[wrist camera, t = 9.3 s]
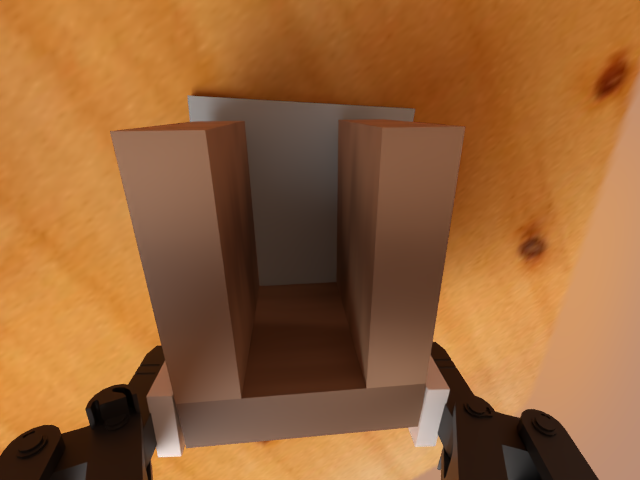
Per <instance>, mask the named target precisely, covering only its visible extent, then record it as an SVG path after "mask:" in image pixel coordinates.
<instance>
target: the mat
mask: <svg viewBox="0 0 640 480" xmlns="http://www.w3.org/2000/svg"><path fill="white" fill-rule="evenodd" d="M188 105H189V116H190V122H195V121H245V130H246V141H247V152H248V164H249V175H250V186H251V197H252V208H253V219H254V230H255V241H256V252H257V263H258V274H259V285H260V286H270V285H289V284H308V283H327V282H336V273H337V194H338V120H360V119H387V120H398V121H409V122H413V120H414V113H415V109H411V108H393V107H376V106H359V105H342V104H324V103H307V102H290V101H273V100H255V99H238V98H221V97H204V96H188Z"/></svg>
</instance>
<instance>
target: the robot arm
mask: <svg viewBox="0 0 640 480" xmlns="http://www.w3.org/2000/svg"><path fill="white" fill-rule="evenodd" d="M86 413H87V416H88V420H89V423H90V425H89V426H87V427H84V428H81V429H77V430H74V431H70V432H67V433H63V434H61V432H60V430H59V428H58V427H56V426H54V425H43V426H39V427H36V428H33V429H31V430H29V431H27V432H25V433H23V434H21V435H20V436H19V437H17V438H16V439H15V440H13V441H12V442H11V443H10V444H9V445H8V446H7V448H6V449H5V450H4V451H3V453H2V454H1V456H0V480H153V475H152V465H151V457H152V455H153V453H154V450H155V448H156V449H157V454H158V457H176V456H182V453H183V450H184V447H185V441H184V436H183V432H182V428H181V424H180V420H179V416H178V411H177V407H176V403H175V399H174V395H173V391H172V387H171V382H170V378H169V374H168V370H167V366H166V362H165V357H164V353H163V349H162V346H156V347H155V348H154V349H152V350H151V351H150V352H149V353H148V354H146V356H145V358H144V359H143V361H142V363H141V364H140V367H139V368H138V369H137V371H136V373H135V375H134V376H133V377H132V379H131V381H130V382H129V384H128V385H126V384H119V385H114V386H111V387H108V388H106V389H103V390H102V391H100V392H99V393H97V394H96V395H95V396H94V397H93V398H92V399H91V400H90V401H89V402H88V404H87V407H86ZM408 429H409V431H410V434H411V437H412V440H413V442H414V445H415V447H423V446H435V445H436V441H437V437H438V435H439V437H440V440H441V442H442V444H443V450H442V453H441V457H440V460H439V464H438V468H437V469H438V470H441V480H599V479H598V478H597V476H596V475H595V473H594V472H593V470H592V469H591V467H590V466H589V464H588V463H587V461H586V460H585V458H584V457H583V455H582V454H581V452H580V451H579V449H578V448H577V446H576V445H575V443H574V442H573V440H572V439H571V437H570V436H569V434H568V433H567V431H566V430H565V428H564V427H563V426H562V425H561V424H560V423H559V422H558V421H557V420H556V419H554V418H553V417H552V416H550V415H548V414H546V413H544V412H542V411H539V410H535V409H528V410H525V411H523V412H522V414H521V417H520V418H517V417H513V416H509V415H505V414H501V413H498V412H495V411H494V409H493V408H492V407H491V406H490V404H489V403H487V402H486V401H485V400H483V399H482V398H479V397H477V396H475V395H474V394H473V393H472V391H471V390H470V388H469V386H468V385H467V383H466V382H465V380H464V379H463V377H462V376H461V374H460V372H459V371H458V369H457V368H456V366H455V365H454V363H453V361H451V358H450V357H449V355H448V354H447V352H446V351H445V349H443V348H442V347H441V346H440V345H439V344H437V343H436V342H432V348H431V355H430V361H429V368H428V374H427V381H426V387H425V394H424V401H423V407H422V412H421V416H420V420H419V425H418V427H408Z"/></svg>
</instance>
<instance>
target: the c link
mask: <svg viewBox="0 0 640 480" xmlns="http://www.w3.org/2000/svg"><path fill="white" fill-rule="evenodd" d="M464 132H465V126H454V125H442V124H431V123H420V122H409V121H398V120H387V119H360V120H338V194H337V273H336V282H327V283H308V284H289V285H270V286H260V285H259V274H258V263H257V252H256V241H255V230H254V219H253V208H252V197H251V186H250V175H249V164H248V152H247V141H246V130H245V121H195V122H186V123H177V124H169V125H160V126H152V127H143V128H134V129H126V130H117V131H110V133H111V137H112V141H113V146H114V150H115V154H116V158H117V162H118V166H119V170H120V175H121V179H122V183H123V187H124V191H125V195H126V200H127V204H128V208H129V212H130V216H131V220H132V224H133V229H134V233H135V237H136V241H137V245H138V249H139V254H140V258H141V262H142V266H143V270H144V274H145V278H146V283H147V287H148V291H149V295H150V299H151V303H152V308H153V312H154V316H155V320H156V324H157V328H158V333H159V337H160V341H161V345H162V349H163V353H164V357H165V362H166V366H167V370H168V374H169V378H170V382H171V387H172V391H173V395H174V399H175V403H176V407H177V411H178V416H179V420H180V424H181V428H182V432H183V436H184V441H185V445H186V448H193V447H204V446H215V445H225V444H236V443H247V442H258V441H268V440H279V439H290V438H301V437H311V436H322V435H333V434H344V433H354V432H365V431H376V430H387V429H397V428H408V427H418V425H419V420H420V416H421V412H422V407H423V401H424V394H425V387H426V381H427V374H428V368H429V361H430V355H431V348H432V342H433V335H434V329H435V322H436V316H437V309H438V302H439V296H440V289H441V283H442V276H443V270H444V263H445V257H446V250H447V244H448V237H449V231H450V224H451V217H452V211H453V204H454V198H455V191H456V185H457V178H458V172H459V165H460V159H461V152H462V145H463V139H464Z"/></svg>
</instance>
